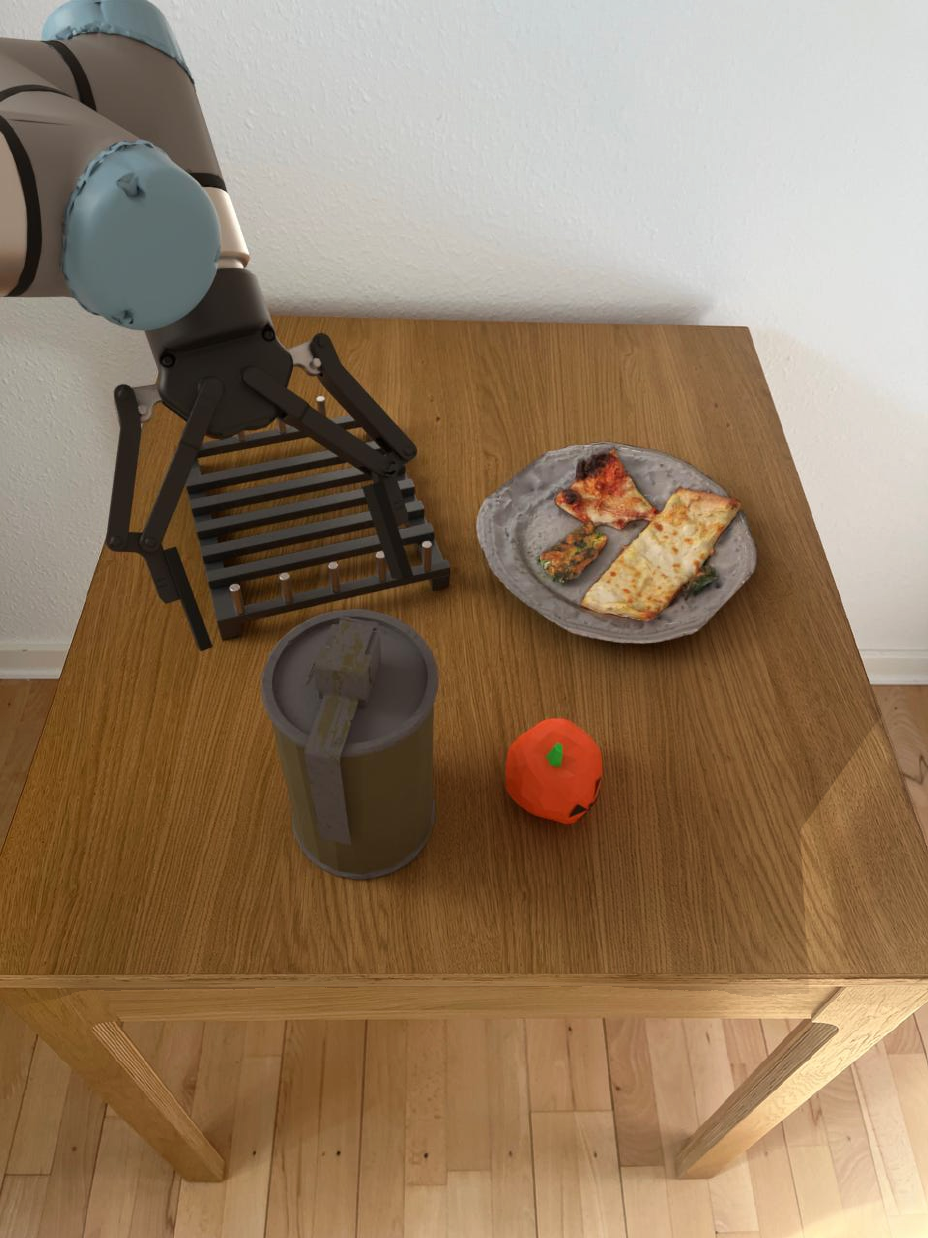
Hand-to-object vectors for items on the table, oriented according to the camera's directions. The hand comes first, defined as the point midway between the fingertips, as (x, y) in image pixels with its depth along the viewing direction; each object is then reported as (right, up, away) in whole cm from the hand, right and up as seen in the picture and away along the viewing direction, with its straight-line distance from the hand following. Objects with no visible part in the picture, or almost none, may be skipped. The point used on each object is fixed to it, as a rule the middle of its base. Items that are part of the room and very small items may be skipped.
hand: (307, 611), depth 61 cm
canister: (+3, -15, +8) cm, 17 cm away
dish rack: (-4, +8, +26) cm, 27 cm away
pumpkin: (+17, -13, +10) cm, 24 cm away
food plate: (+24, +6, +26) cm, 36 cm away
